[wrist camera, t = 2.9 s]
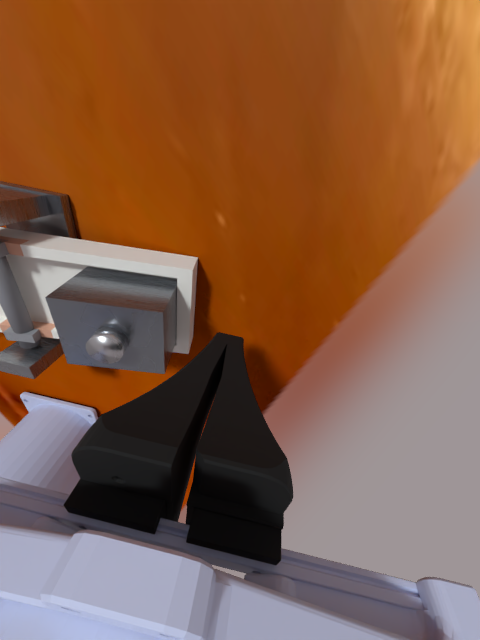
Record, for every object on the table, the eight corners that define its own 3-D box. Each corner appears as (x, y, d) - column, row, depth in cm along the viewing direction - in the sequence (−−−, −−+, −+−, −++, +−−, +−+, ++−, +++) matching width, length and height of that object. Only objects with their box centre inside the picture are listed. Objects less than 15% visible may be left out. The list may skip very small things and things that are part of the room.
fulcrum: (98, 335, 19) (47, 382, 15) (50, 324, 19) (-14, 368, 15) (67, 195, 13) (-30, 208, 9) (0, 181, 13) (-125, 188, 9)
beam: (192, 342, 18) (186, 366, 16) (-107, 306, 16) (-158, 328, 14) (198, 247, 14) (191, 263, 12) (-201, 185, 12) (-291, 191, 10)
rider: (178, 334, 16) (160, 385, 12) (99, 324, 15) (58, 374, 12) (179, 279, 14) (157, 322, 10) (87, 266, 13) (31, 306, 10)
